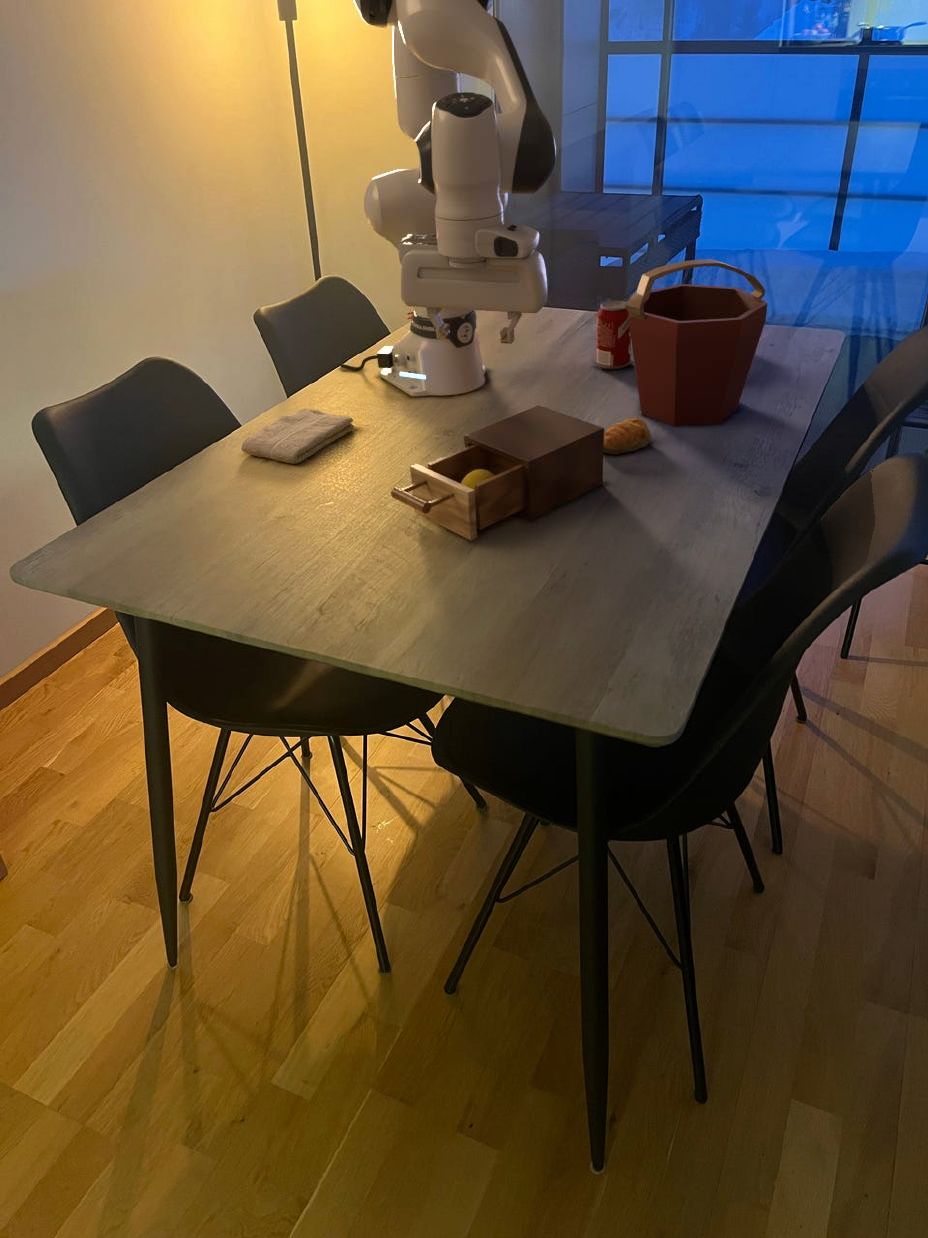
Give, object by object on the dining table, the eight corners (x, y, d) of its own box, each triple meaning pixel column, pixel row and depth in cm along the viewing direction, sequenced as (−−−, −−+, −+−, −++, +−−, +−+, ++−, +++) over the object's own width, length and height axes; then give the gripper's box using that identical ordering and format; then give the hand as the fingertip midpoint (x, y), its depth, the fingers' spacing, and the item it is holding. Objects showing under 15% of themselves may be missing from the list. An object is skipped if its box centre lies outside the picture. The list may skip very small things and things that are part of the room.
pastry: (615, 461, 152) (616, 439, 150) (585, 449, 156) (585, 427, 154) (654, 443, 156) (655, 422, 154) (624, 432, 161) (625, 411, 159)
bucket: (625, 434, 160) (632, 284, 146) (608, 387, 178) (612, 250, 164) (770, 426, 160) (791, 274, 145) (738, 380, 178) (753, 241, 164)
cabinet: (529, 520, 137) (528, 461, 132) (467, 491, 146) (463, 435, 141) (602, 484, 145) (604, 427, 140) (539, 458, 154) (538, 404, 149)
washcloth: (358, 428, 169) (356, 412, 167) (296, 468, 156) (293, 451, 155) (305, 418, 174) (302, 402, 173) (241, 457, 162) (238, 440, 160)
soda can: (608, 373, 185) (610, 311, 178) (589, 364, 190) (590, 303, 183) (636, 366, 187) (639, 305, 180) (617, 357, 192) (619, 297, 185)
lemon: (510, 469, 136) (492, 493, 130) (500, 500, 140) (482, 525, 134) (475, 454, 137) (456, 478, 131) (466, 486, 141) (447, 510, 134)
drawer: (439, 556, 128) (435, 507, 124) (383, 525, 136) (377, 479, 132) (544, 504, 139) (544, 458, 135) (486, 479, 147) (484, 435, 143)
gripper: (388, 239, 124) (397, 343, 132) (537, 244, 118) (538, 352, 126) (406, 228, 129) (414, 328, 137) (550, 232, 123) (550, 336, 131)
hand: (475, 340), depth 131 cm, fingers open, 8 cm apart
